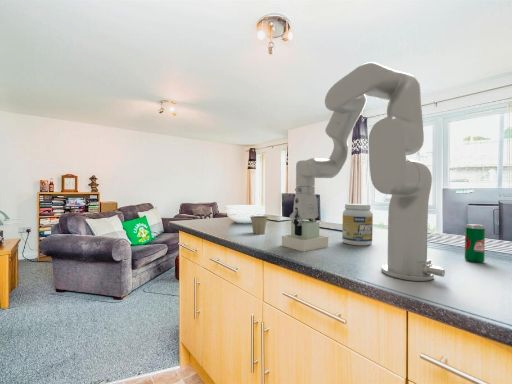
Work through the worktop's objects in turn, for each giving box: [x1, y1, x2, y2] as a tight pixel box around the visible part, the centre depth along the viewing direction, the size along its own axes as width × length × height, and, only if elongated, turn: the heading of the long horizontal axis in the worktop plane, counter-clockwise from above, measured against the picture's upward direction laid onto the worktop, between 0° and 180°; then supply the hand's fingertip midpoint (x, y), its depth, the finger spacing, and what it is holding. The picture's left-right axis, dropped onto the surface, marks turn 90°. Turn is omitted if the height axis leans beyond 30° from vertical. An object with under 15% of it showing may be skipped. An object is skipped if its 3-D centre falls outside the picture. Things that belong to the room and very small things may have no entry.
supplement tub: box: [342, 203, 374, 247], centre depth 115 cm, size 12×12×17 cm
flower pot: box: [249, 215, 269, 235], centre depth 139 cm, size 9×9×9 cm
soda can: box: [464, 223, 486, 264], centre depth 87 cm, size 5×5×12 cm
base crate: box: [281, 233, 329, 252], centre depth 109 cm, size 12×14×4 cm
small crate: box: [290, 219, 320, 240], centre depth 109 cm, size 9×7×7 cm
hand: (304, 234), depth 109 cm, fingers open, 7 cm apart
